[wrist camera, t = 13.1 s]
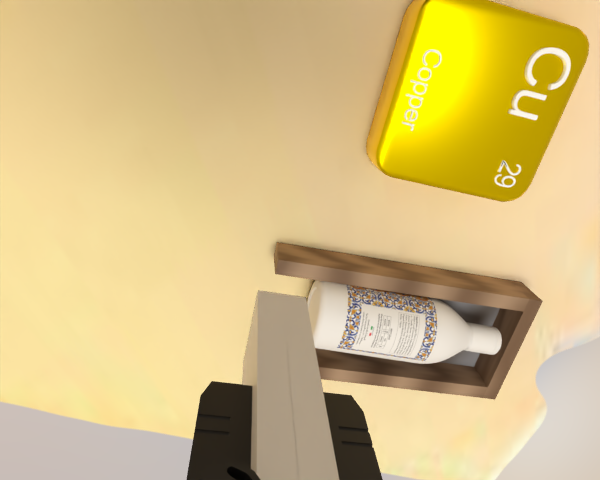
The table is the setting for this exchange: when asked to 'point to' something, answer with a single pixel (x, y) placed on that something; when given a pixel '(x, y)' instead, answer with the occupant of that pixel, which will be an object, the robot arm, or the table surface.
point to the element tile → (474, 96)
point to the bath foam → (392, 325)
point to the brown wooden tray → (429, 283)
